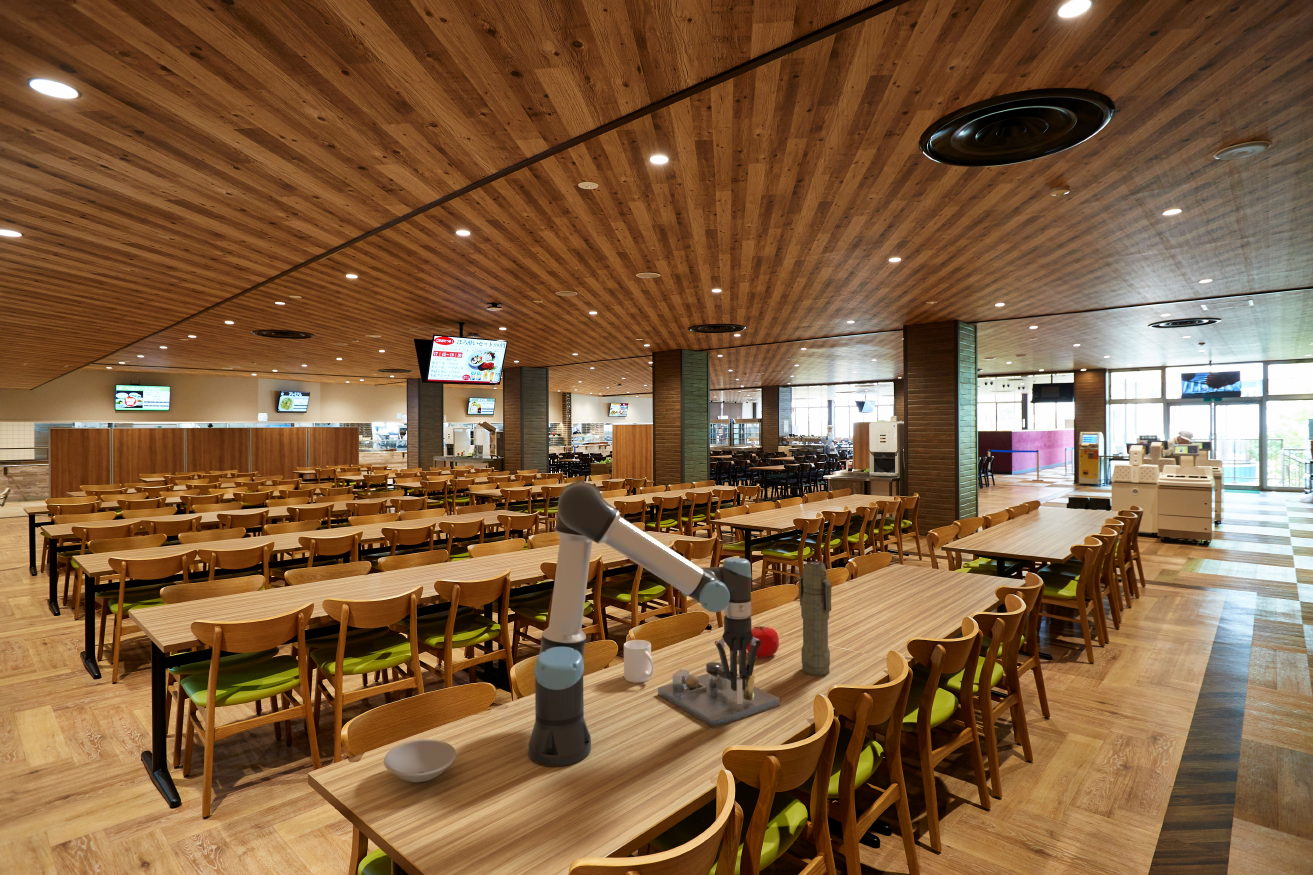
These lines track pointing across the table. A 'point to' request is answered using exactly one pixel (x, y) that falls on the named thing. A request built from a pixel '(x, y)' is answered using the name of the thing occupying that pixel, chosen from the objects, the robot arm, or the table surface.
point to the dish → (420, 759)
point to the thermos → (815, 618)
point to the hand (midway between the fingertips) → (738, 701)
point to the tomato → (765, 641)
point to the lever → (722, 680)
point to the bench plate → (714, 699)
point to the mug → (637, 661)
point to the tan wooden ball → (692, 681)
